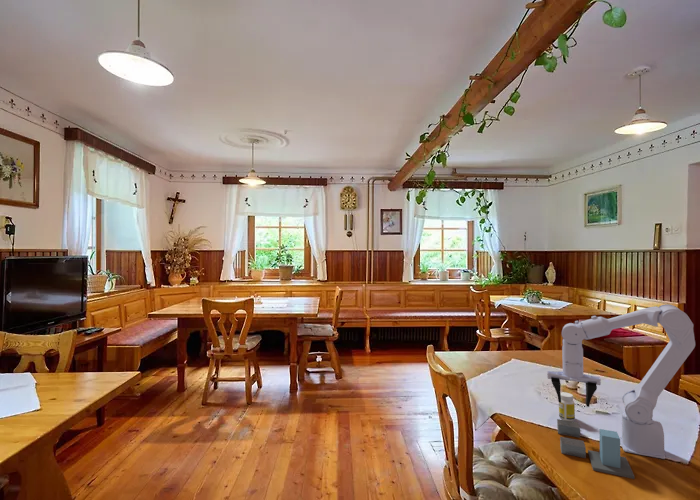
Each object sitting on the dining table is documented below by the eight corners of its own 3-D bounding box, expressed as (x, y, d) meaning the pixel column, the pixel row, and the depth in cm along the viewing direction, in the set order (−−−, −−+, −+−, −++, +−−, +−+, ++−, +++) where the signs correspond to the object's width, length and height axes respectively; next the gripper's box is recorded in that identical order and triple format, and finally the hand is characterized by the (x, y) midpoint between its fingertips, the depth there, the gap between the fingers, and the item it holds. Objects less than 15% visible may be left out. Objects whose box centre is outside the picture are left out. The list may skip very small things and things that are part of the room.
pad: (625, 460, 101) (625, 457, 101) (634, 479, 93) (634, 476, 93) (588, 452, 105) (588, 449, 105) (593, 470, 97) (593, 467, 97)
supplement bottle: (576, 417, 126) (575, 394, 126) (573, 422, 123) (572, 398, 123) (560, 413, 129) (560, 390, 129) (557, 418, 126) (557, 394, 126)
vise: (577, 427, 119) (577, 418, 119) (585, 458, 103) (585, 447, 103) (556, 424, 122) (556, 415, 122) (561, 453, 105) (561, 443, 105)
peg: (617, 460, 100) (616, 431, 100) (620, 468, 96) (620, 438, 96) (599, 456, 102) (599, 428, 102) (602, 464, 98) (602, 435, 98)
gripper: (547, 362, 115) (548, 404, 115) (602, 368, 109) (602, 412, 109) (546, 356, 121) (547, 395, 122) (598, 361, 115) (598, 403, 115)
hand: (573, 403), depth 116 cm, fingers open, 7 cm apart
